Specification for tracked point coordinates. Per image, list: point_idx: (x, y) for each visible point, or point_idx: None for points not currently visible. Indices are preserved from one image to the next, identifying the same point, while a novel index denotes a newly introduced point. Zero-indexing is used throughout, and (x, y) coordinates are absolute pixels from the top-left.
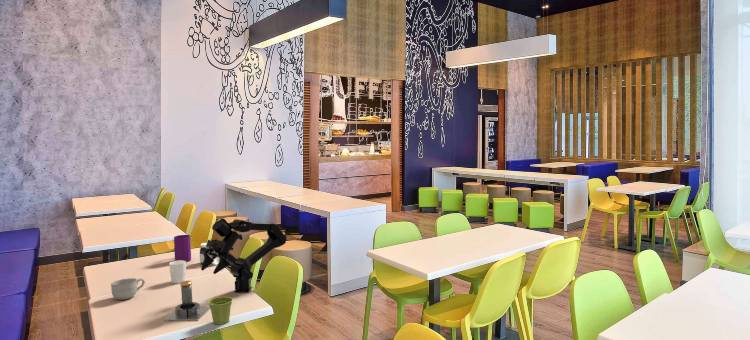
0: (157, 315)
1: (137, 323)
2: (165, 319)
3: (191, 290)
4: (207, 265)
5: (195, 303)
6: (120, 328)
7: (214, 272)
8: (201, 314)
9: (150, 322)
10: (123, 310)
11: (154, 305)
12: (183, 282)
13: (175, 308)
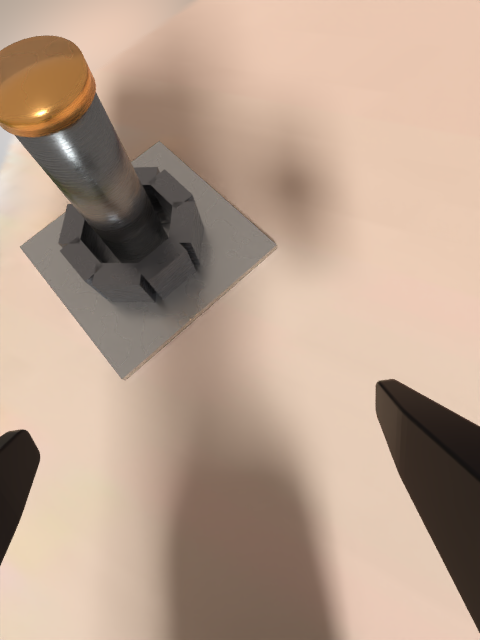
0: (252, 145)
1: (222, 71)
2: (151, 147)
3: (45, 171)
4: (447, 548)
5: (124, 270)
6: (221, 23)
7: (3, 447)
8: (60, 287)
9: (189, 106)
10: (451, 57)
11: (426, 171)
12: (48, 58)
13: (153, 168)
